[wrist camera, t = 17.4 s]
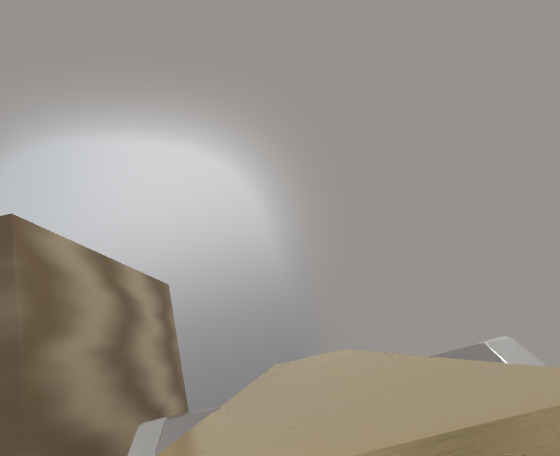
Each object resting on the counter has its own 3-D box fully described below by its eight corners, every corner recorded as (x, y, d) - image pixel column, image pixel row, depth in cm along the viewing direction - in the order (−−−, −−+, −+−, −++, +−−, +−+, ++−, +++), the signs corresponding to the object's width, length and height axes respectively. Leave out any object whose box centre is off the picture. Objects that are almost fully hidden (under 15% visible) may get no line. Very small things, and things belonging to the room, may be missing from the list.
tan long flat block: (856, 775, 2) (671, 376, 3) (99, 971, 2) (64, 525, 3) (353, 385, 23) (343, 348, 24) (282, 402, 23) (274, 365, 24)
